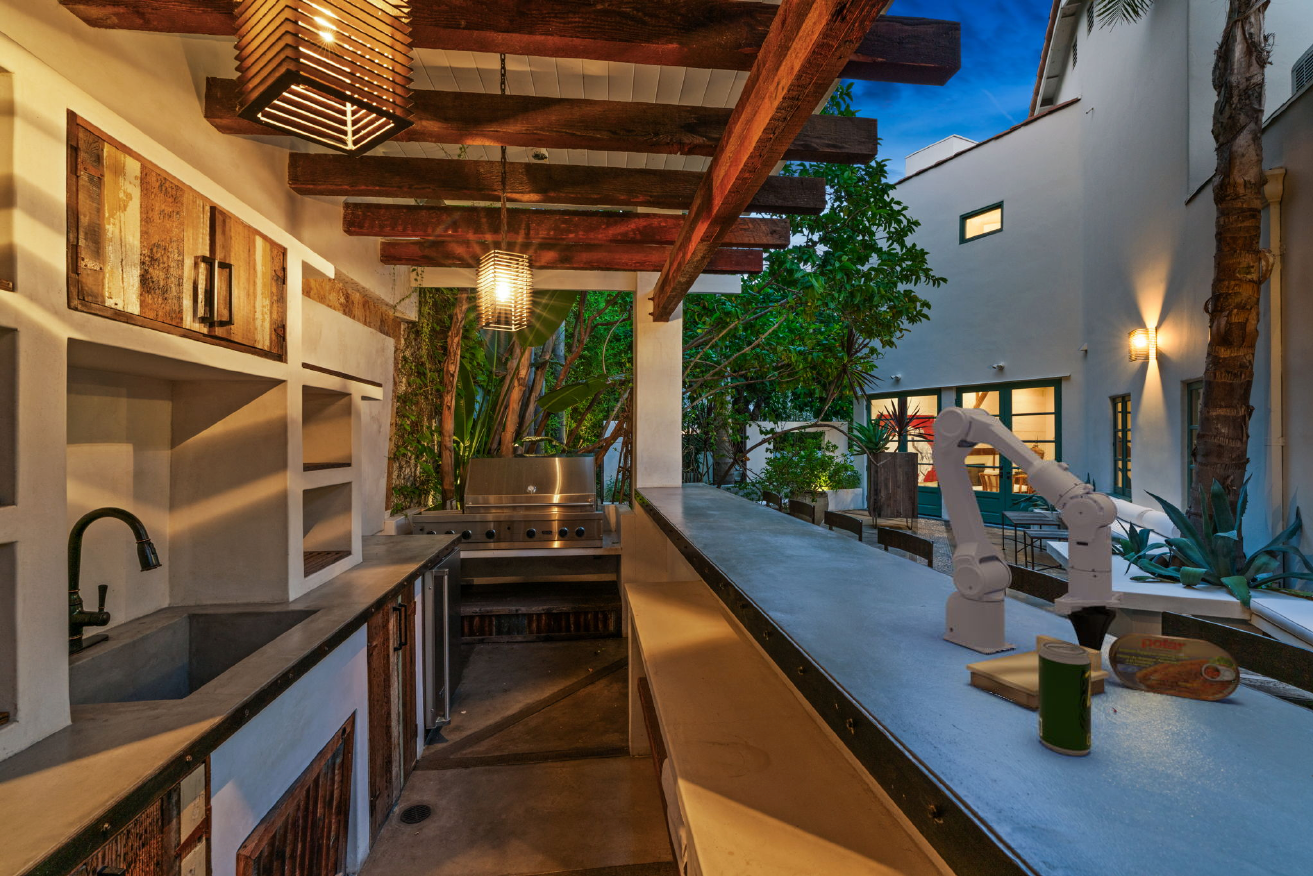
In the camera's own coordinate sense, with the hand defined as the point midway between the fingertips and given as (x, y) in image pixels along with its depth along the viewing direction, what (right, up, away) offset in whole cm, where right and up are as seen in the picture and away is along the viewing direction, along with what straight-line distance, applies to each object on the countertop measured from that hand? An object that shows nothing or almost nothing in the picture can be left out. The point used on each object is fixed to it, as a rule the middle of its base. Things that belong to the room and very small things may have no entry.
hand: (1090, 653), depth 98 cm
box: (-12, -3, -5) cm, 13 cm away
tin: (+7, -4, -7) cm, 11 cm away
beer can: (-20, -4, -23) cm, 30 cm away
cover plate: (-12, -1, -5) cm, 13 cm away
